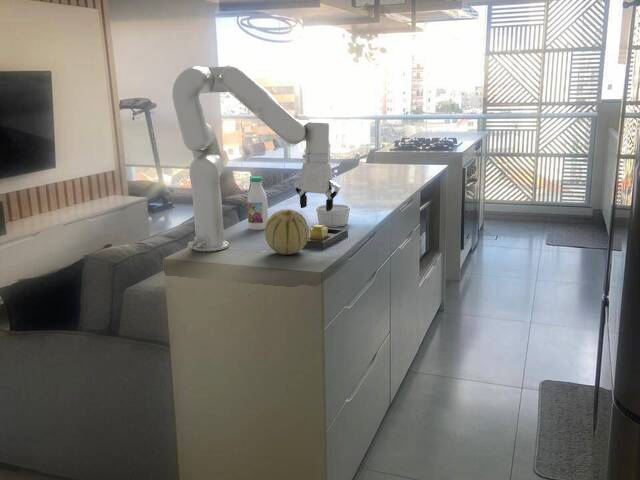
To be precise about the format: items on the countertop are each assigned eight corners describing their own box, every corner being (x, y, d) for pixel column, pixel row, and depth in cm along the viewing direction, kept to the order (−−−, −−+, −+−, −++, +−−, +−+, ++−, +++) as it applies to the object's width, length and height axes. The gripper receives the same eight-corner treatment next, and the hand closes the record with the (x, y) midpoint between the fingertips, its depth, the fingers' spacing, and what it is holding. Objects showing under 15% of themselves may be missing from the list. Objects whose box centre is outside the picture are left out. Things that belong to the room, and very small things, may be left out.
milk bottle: (258, 225, 244) (256, 174, 239) (272, 227, 240) (270, 176, 235) (244, 228, 239) (241, 177, 234) (258, 231, 234) (256, 179, 229)
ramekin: (311, 222, 247) (311, 205, 245) (341, 219, 252) (341, 202, 250) (324, 229, 235) (324, 211, 233) (355, 225, 240) (355, 208, 238)
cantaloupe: (290, 245, 212) (288, 202, 209) (319, 253, 202) (318, 208, 198) (255, 254, 203) (253, 209, 199) (284, 262, 192) (282, 215, 189)
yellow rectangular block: (322, 247, 209) (322, 227, 208) (310, 246, 211) (310, 226, 210) (327, 244, 213) (327, 224, 212) (316, 242, 215) (315, 223, 214)
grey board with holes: (323, 249, 206) (323, 242, 206) (302, 247, 210) (302, 240, 209) (347, 236, 223) (347, 229, 223) (328, 234, 227) (327, 227, 226)
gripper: (288, 157, 205) (288, 208, 210) (335, 161, 198) (334, 213, 202) (299, 155, 212) (299, 204, 216) (345, 159, 205) (343, 209, 209)
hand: (316, 208), depth 209 cm, fingers open, 9 cm apart
